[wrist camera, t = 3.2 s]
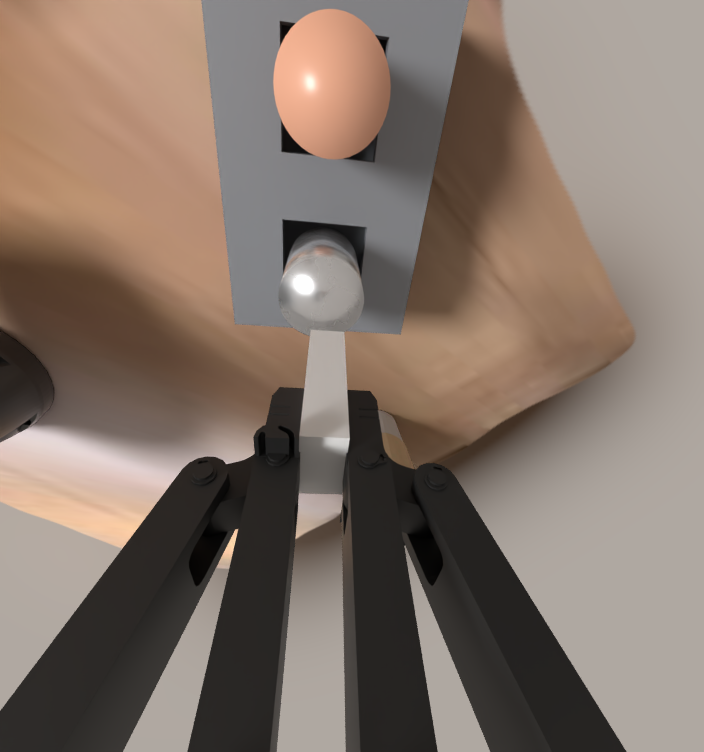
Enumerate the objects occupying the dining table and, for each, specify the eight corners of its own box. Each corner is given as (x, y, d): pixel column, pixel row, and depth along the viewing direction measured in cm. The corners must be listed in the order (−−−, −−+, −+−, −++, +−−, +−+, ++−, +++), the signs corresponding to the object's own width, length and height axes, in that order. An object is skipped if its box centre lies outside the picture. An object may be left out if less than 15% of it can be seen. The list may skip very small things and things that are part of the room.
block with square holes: (388, 297, 37) (400, 334, 31) (252, 287, 36) (234, 324, 29) (435, 18, 25) (472, -17, 19) (231, -14, 24) (194, -63, 17)
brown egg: (368, 154, 23) (381, 165, 18) (288, 144, 23) (275, 153, 17) (380, 47, 20) (399, 18, 15) (287, 33, 20) (271, -1, 14)
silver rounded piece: (353, 297, 29) (359, 340, 23) (289, 292, 28) (279, 335, 23) (360, 230, 26) (369, 261, 20) (288, 224, 25) (277, 253, 20)
